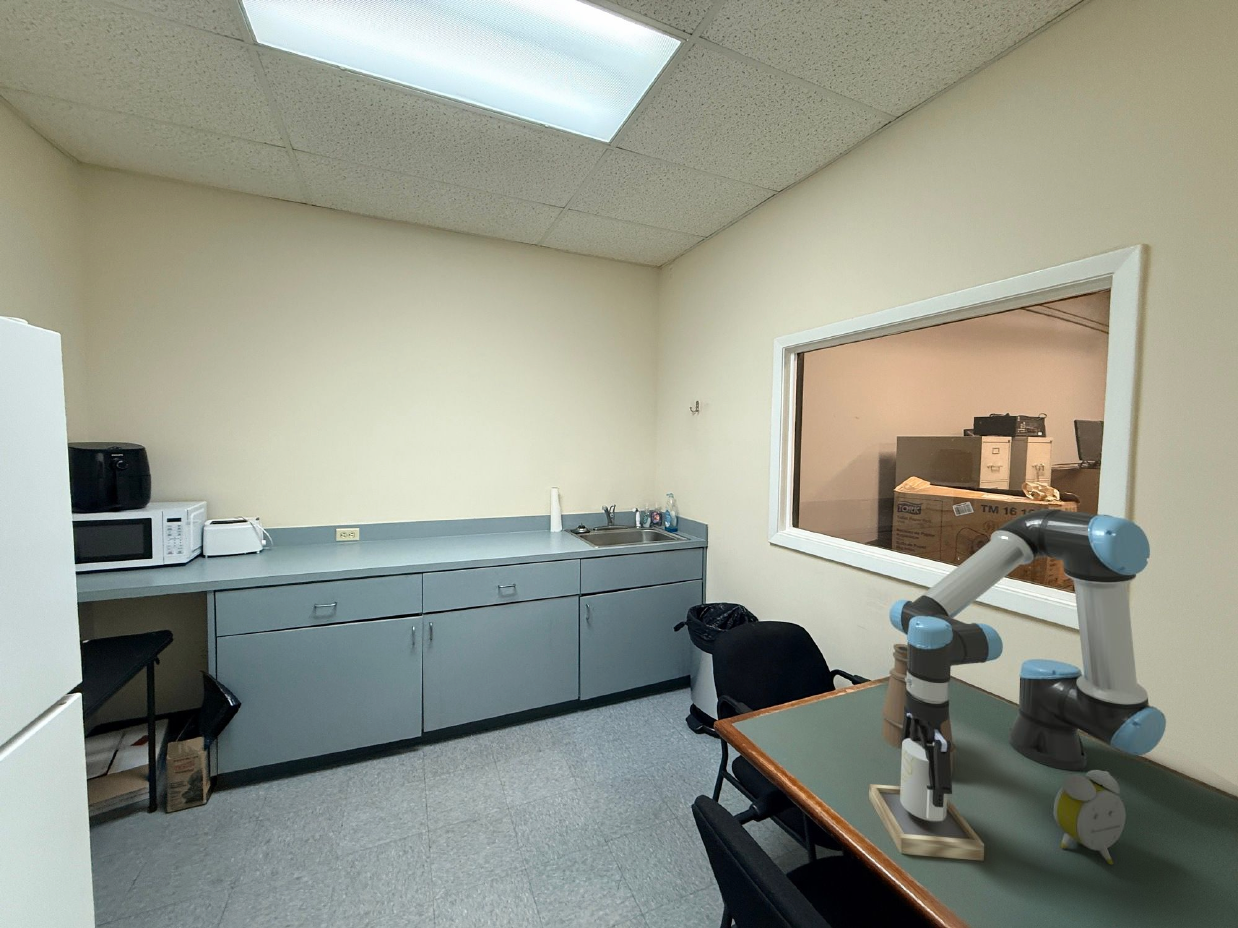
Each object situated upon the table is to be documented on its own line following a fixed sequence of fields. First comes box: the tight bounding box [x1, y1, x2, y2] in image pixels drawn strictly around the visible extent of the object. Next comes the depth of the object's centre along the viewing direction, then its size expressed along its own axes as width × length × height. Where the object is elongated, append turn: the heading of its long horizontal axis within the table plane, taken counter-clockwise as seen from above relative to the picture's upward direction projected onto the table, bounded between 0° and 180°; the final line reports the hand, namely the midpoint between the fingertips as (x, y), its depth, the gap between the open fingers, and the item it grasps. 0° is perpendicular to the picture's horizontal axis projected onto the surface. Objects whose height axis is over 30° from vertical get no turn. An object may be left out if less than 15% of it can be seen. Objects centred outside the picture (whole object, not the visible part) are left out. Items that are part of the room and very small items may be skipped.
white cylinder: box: [900, 738, 948, 821], centre depth 102 cm, size 8×8×12 cm
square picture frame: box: [868, 783, 985, 862], centre depth 103 cm, size 15×15×3 cm
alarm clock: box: [1053, 769, 1127, 865], centre depth 97 cm, size 12×7×15 cm, turn 103°
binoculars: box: [880, 643, 956, 777], centre depth 127 cm, size 21×10×25 cm, turn 6°
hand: (923, 802), depth 102 cm, fingers closed on white cylinder, 8 cm apart
